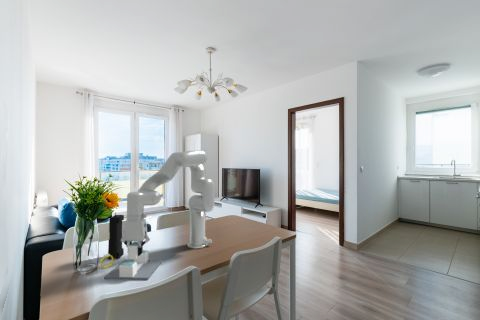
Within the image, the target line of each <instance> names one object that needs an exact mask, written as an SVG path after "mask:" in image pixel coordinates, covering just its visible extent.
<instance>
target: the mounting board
mask: <svg viewBox="0 0 480 320" xmlns="http://www.w3.org/2000/svg"><path fill="white" fill-rule="evenodd" d="M149 253H150V252H149V250H144V249H143V252H142V254H141V255H140V256H139V257H138V258H137V259H123V260H122V261H121V262H119V264H118V265H116V266H115V267H114V268H113V269H112V270H110V271H109V272H108V273H107V274H105V276H103V280H111V281H112V280H115V281H117V280H120V281H122V280H123V281H127V280H128V281H129V280H130V281H149V279H150V278H151V277H152V275H153V274H154V273H155V272H156V270H157V269H158V268H159V266H160V265H161V264H162V263H163V260H162V259H149V258H150V257H149V255H150V254H149Z"/></svg>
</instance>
